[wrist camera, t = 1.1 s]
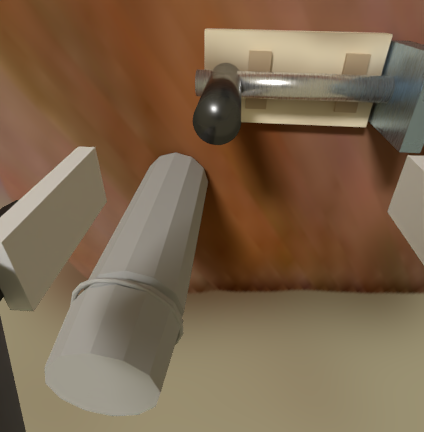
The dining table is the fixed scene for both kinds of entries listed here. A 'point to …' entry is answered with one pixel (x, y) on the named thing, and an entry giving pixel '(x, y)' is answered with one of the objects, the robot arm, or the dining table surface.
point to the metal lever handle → (320, 96)
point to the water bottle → (133, 297)
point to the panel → (300, 69)
